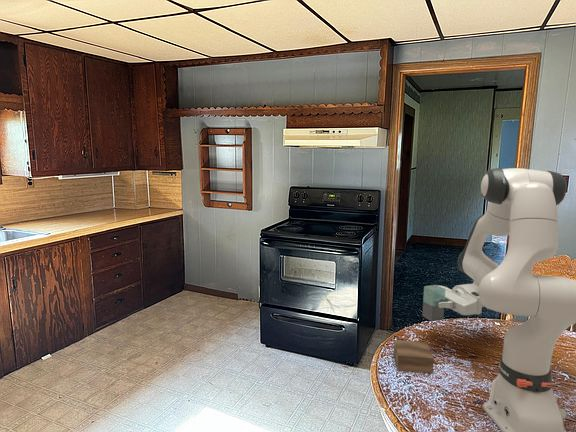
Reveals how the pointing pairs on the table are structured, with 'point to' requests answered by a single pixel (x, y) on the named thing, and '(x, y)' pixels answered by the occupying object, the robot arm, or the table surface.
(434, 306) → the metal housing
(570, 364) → the table surface
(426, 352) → the walnut stand
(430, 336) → the table surface
